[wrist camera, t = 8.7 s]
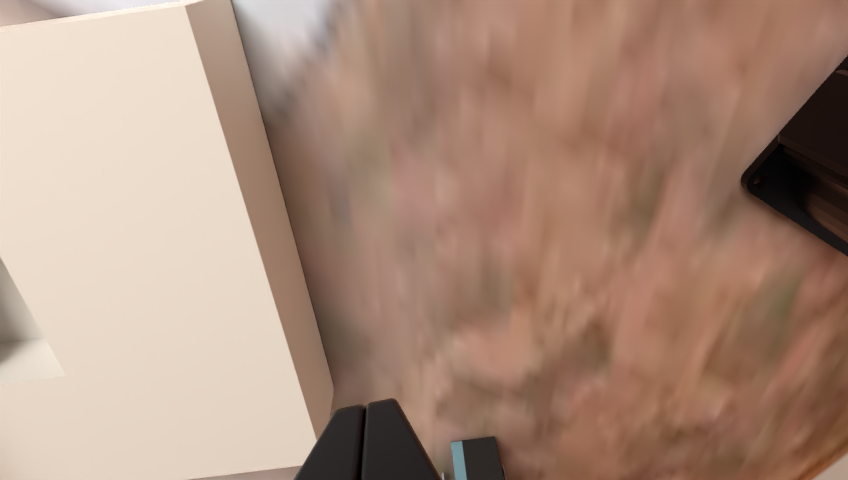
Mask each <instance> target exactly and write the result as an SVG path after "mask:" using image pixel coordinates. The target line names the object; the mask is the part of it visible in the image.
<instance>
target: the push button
mask: <svg viewBox="0 0 848 480" xmlns="http://www.w3.org/2000/svg"><path fill="white" fill-rule="evenodd" d="M451 451H452V457H453V463H454V472H455V480H507V479H506V474H505V469H504V465H502V470H501V465H500V460H499V455H498V450H497V445H496V440H495V437H487V438H479V439H471V440H463V441H457V442H451ZM502 472H503V475H502ZM442 479H443V480H445V478H444V473H442Z"/></svg>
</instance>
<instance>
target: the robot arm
mask: <svg viewBox="0 0 848 480" xmlns="http://www.w3.org/2000/svg"><path fill="white" fill-rule="evenodd" d="M761 175H762V178H761V180H760V181H759V182H758V183H756V184H754V181H755V179H756V178H757V177H759V176H761ZM741 184H742V186H743V188H744V189H746V190H747V191H749V192H750V193H751V194H753V195H755V196H756V197H758V198H759V199H761V200H762V201H764V202H765V203H767V204H768V205H770V206H771V207H773V208H774V209H776V210H778V211H779V212H781V213H782V214H784V215H785V216H787V217H788V218H790V219H791V220H793V221H794V222H796V223H797V224H799V225H801V226H802V227H804V228H805V229H807V230H808V231H810V232H811V233H813V234H814V235H816V236H817V237H819V238H820V239H822V240H824V241H825V242H827V243H828V244H830V245H831V246H833V247H834V248H836V249H837V250H839V251H840V252H842V253H843V254H845V255H847V256H848V56H847V57H846V58H845V59H844V60H843V62H842V63H841V64H840V65H839V66H838V67H837V68H836V69H835V71H834V72H833V73H832V74H831V75H830V76H829V77H828V78H827V79H826V80H825V81H824V83H823V84H822V85H821V86H820V87H819V88H818V89H817V90H816V92H815V93H814V94H813V95H812V96H811V97H810V98H809V99H808V101H807V102H806V103H805V104H804V105H803V106H802V107H801V108H800V110H799V111H798V112H797V113H796V114H795V115H794V116H793V118H792V119H791V120H790V121H789V122H788V123H787V124H786V125H785V127H784V128H783V129H782V130H781V131H780V132H779V134H778V135H777V136H776V137H775V138H774V139H773V140H772V142H771V143H770V144H769V145H768V146H767V147H766V148H765V149H764V151H763V152H762V153H761V154H760V155H759V156H758V157H757V158H756V160H755V161H754V162H753V163H752V164H751V165H750V166H749V167H748V169H747V170H746V171H745V172H744V174H743V175H742V178H741ZM294 480H442V479H441V478H440V476H439V474H438V472H437V471H436V469H435V467H434V465H433V464H432V462H431V460H430V458H429V456H428V455H427V453H426V451H425V449H424V448H423V446H422V444H421V442H420V441H419V439H418V437H417V435H416V434H415V432H414V430H413V428H412V426H411V425H410V423H409V421H408V419H407V418H406V416H405V414H404V412H403V411H402V409H401V407H400V405H399V403H398V402H397V400H395V399H393V398H390V399H385V400H380V401H375V402H371V403H369V404H368V405H367V407H365V406H364V405H355V406H350V407H345V408H341V409H338V410H336V411H335V412H334V413H333V415H332V417H331V418H330V420H329V422H328V423H327V425H326V427H325V428H324V430H323V432H322V433H321V435H320V437H319V438H318V440H317V442H316V443H315V445H314V447H313V448H312V450H311V452H310V453H309V455H308V457H307V458H306V460H305V462H304V463H303V465H302V467H301V468H300V470H299V472H298V473H297V475H296V477H295V478H294Z"/></svg>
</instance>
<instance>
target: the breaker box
mask: <svg viewBox="0 0 848 480" xmlns="http://www.w3.org/2000/svg"><path fill="white" fill-rule="evenodd" d="M333 393H334V386H333V382H332V378H331V375H330V371H329V367H328V363H327V360H326V356H325V352H324V348H323V345H322V341H321V337H320V333H319V330H318V326H317V322H316V319H315V315H314V311H313V307H312V304H311V300H310V296H309V292H308V289H307V285H306V281H305V277H304V274H303V270H302V266H301V262H300V259H299V255H298V251H297V247H296V244H295V240H294V236H293V232H292V229H291V225H290V221H289V217H288V214H287V210H286V206H285V203H284V199H283V195H282V191H281V188H280V184H279V180H278V176H277V173H276V169H275V165H274V161H273V158H272V154H271V150H270V146H269V143H268V139H267V135H266V131H265V128H264V124H263V120H262V116H261V113H260V109H259V105H258V101H257V98H256V94H255V90H254V86H253V83H252V79H251V75H250V72H249V68H248V64H247V60H246V57H245V53H244V49H243V45H242V42H241V38H240V34H239V30H238V27H237V23H236V19H235V15H234V12H233V8H232V4H231V0H182V1H175V2H168V3H161V4H154V5H147V6H140V7H133V8H127V9H120V10H113V11H106V12H99V13H92V14H85V15H78V16H71V17H64V18H57V19H50V20H43V21H36V22H30V23H23V24H16V25H9V26H2V27H0V480H189V479H197V478H205V477H213V476H221V475H229V474H237V473H245V472H253V471H261V470H269V469H277V468H285V467H293V466H301V465H303V463H304V462H305V460H306V458H307V457H308V455H309V453H310V452H311V450H312V448H313V447H314V445H315V443H316V442H317V440H318V438H319V437H320V435H321V433H322V432H323V430H324V428H325V427H326V425H327V423H328V422H329V420H330V414H331V407H332V400H333Z"/></svg>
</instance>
